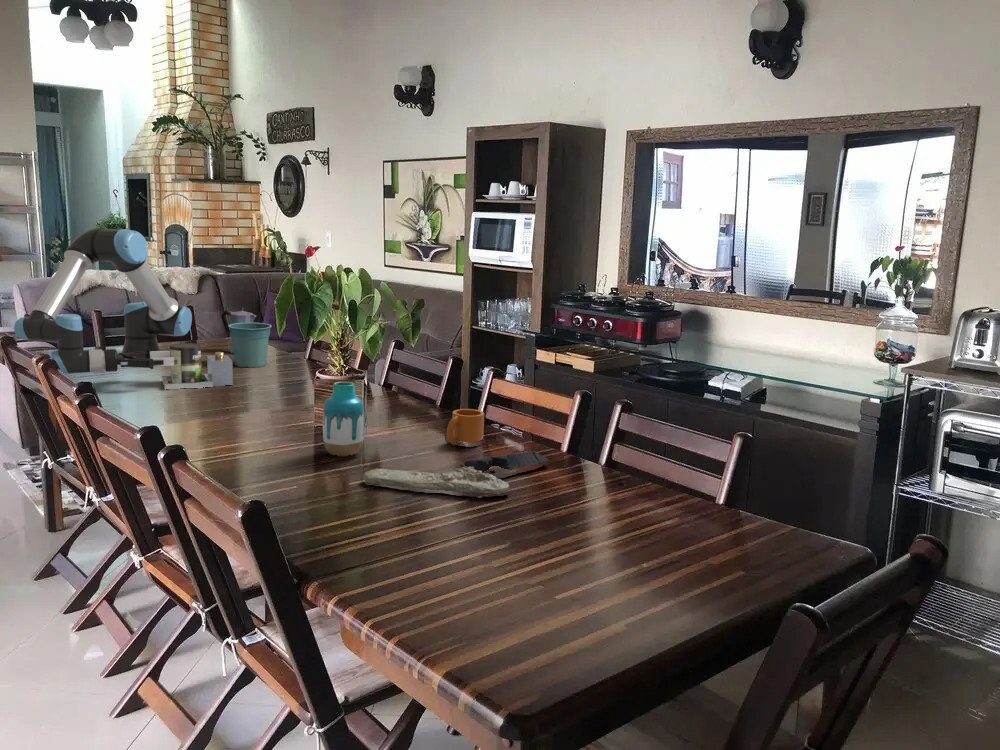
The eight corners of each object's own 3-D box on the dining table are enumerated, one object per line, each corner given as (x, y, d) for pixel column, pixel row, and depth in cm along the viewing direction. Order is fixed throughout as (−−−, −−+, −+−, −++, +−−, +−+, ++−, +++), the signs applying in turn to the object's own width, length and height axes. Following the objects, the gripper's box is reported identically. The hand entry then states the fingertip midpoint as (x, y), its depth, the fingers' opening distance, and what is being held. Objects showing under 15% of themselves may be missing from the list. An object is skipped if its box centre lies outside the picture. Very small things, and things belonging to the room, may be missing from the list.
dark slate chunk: (557, 471, 207) (558, 453, 206) (485, 484, 195) (486, 465, 194) (522, 455, 220) (523, 438, 219) (453, 467, 207) (453, 449, 206)
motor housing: (161, 381, 289) (160, 350, 287) (227, 378, 299) (226, 348, 297) (165, 390, 276) (163, 358, 274) (233, 386, 286) (232, 355, 283)
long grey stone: (371, 481, 197) (357, 496, 188) (370, 460, 196) (356, 475, 187) (513, 487, 191) (506, 503, 182) (512, 466, 190) (505, 481, 181)
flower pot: (271, 369, 319) (271, 328, 316) (227, 369, 315) (226, 328, 312) (272, 361, 335) (272, 322, 332) (230, 361, 331) (230, 322, 328)
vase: (327, 462, 205) (327, 388, 201) (319, 451, 214) (319, 380, 211) (368, 459, 209) (369, 386, 205) (358, 448, 219) (359, 378, 215)
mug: (435, 443, 227) (436, 411, 225) (471, 438, 234) (472, 407, 232) (452, 450, 220) (453, 418, 218) (489, 445, 227) (490, 414, 225)
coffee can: (206, 382, 291) (205, 343, 288) (195, 388, 281) (194, 348, 278) (178, 380, 291) (176, 342, 288) (166, 386, 281) (164, 346, 278)
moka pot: (253, 355, 346) (252, 309, 342) (217, 354, 346) (216, 307, 342) (260, 351, 355) (259, 306, 351) (225, 350, 355) (224, 305, 351)
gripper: (103, 364, 284) (168, 362, 293) (105, 378, 262) (176, 375, 272) (102, 343, 282) (168, 341, 292) (104, 356, 261) (175, 353, 270)
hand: (172, 358), depth 282 cm, fingers open, 13 cm apart
